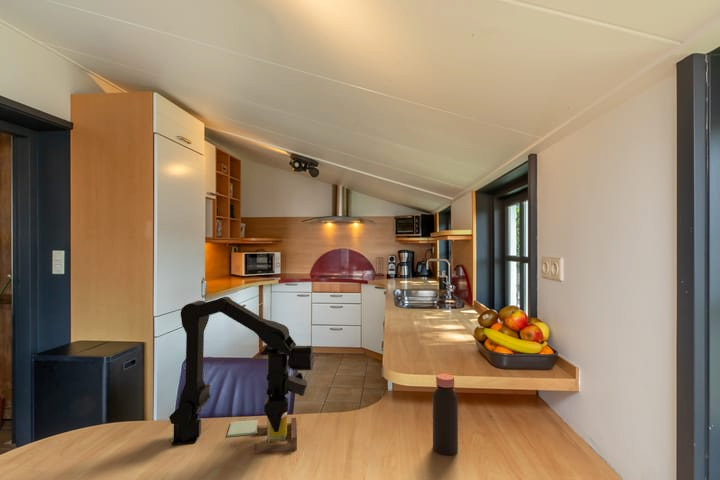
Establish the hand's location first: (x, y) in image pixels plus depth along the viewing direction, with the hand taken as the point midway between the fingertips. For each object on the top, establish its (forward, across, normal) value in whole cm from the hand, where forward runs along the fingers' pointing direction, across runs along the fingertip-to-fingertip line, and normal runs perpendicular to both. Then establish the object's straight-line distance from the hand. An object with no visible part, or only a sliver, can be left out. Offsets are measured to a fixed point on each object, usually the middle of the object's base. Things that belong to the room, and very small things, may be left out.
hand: (276, 423), depth 107 cm
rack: (+5, 0, +1) cm, 5 cm away
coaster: (+5, +9, +10) cm, 15 cm away
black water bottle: (+5, -13, -46) cm, 48 cm away
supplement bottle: (+5, 0, 0) cm, 5 cm away
